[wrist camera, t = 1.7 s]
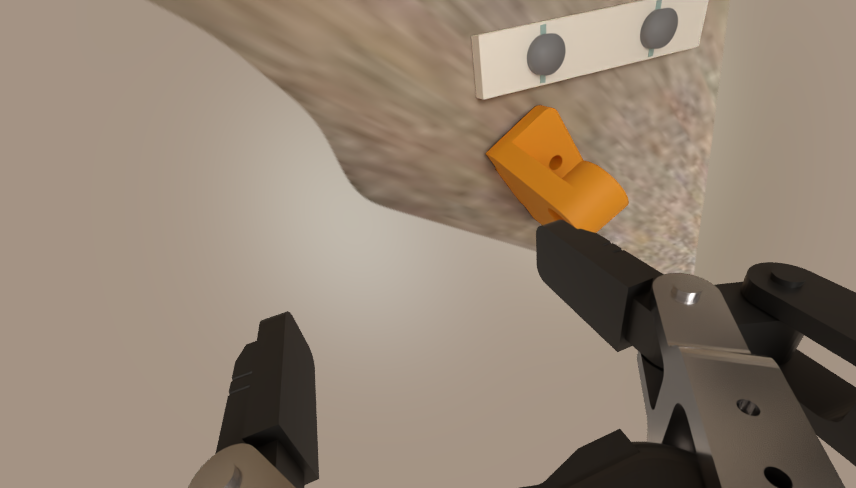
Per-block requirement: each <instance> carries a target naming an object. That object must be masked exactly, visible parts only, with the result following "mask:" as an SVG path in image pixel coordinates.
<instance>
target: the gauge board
mask: <svg viewBox="0 0 856 488" xmlns="http://www.w3.org/2000/svg"><path fill="white" fill-rule="evenodd" d="M708 1H709V0H640V1H635V2H630V3H626V4H621V5H616V6H611V7H607V8H602V9H597V10H592V11H588V12H583V13H578V14H573V15H569V16H564V17H559V18H554V19H550V20H545V21H540V22H535V23H530V24H526V25H521V26H516V27H511V28H507V29H502V30H497V31H492V32H488V33H483V34H478V35H473V36H471V41H472V52H473V64H474V75H475V87H476V98H479V99H483V100H484V99H488V98H492V97H496V96H500V95H504V94H508V93H513V92H517V91H521V90H525V89H529V88H533V87H537V86H541V85H545V84H549V83H553V82H557V81H561V80H565V79H569V78H573V77H577V76H581V75H586V74H590V73H594V72H598V71H602V70H606V69H610V68H614V67H618V66H622V65H626V64H630V63H634V62H638V61H642V60H646V59H650V58H655V57H659V56H663V55H667V54H671V53H675V52H679V51H683V50H687V49H691V48H695V47H699V42H700V38H701V33H702V28H703V24H704V19H705V15H706V10H707V6H708Z"/></svg>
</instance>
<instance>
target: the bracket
mask: <svg viewBox="0 0 856 488" xmlns="http://www.w3.org/2000/svg"><path fill="white" fill-rule="evenodd" d="M486 155H487V156H488V157H489V159H490V160H491V161H492V163H493V164H494V165H495V167H496V171H497V172H498V173H499V175H500V176H501V177H502V179H503V180H504V181H505V183H506V184H507V185H508V187H509V188H510V189H511V191H512V192H513V193H514V195H515V196H516V197H517V199H518V200H519V201H520V203H522V204H523V205H524V206H525V207H526V208H527V210H528V211H529V212H530V214H531V215H532V217H533V218H534V219H535V220H536V221H538V222H539V223H541V224H542V225H545V224H548V223H551V222H554V221H557V220H560V219H562V220H564V221H566V222H567V223H569V224H571V225H572V226H574V227H575V228H577V229H584V230H587V231H590V232H594V233H596V232H598V231H599V230H600V229H601V228H602V227H603V226H604V225H606V224H607V223H608V222H609V221H610V220H611V219H612V218H614V217H615V216H616V215H617V214H618V213H619V212H621V211H622V210H623V209H624V208H625V207H626V206H627V205H628V203H629V201H628V197H627V195H626V193H625V191H624V190H623V188H622V187H621V186H620V185H619V183H618V182H617V181H616V180H615V179H614V178H613V177H612V176H611V175H610V174H608V173H607V172H606V171H605V170H603V169H602V168H600V167H599V166H597V165H595V164H593V163H591V162H588V161H583V159H582V157H581V155H580V153H579V151H578V149H577V147H576V146H575V144H574V142H573V140H572V138H571V136H570V134H569V132H568V131H567V129H566V127H565V125H564V123H563V121H562V119H561V117H560V116H559V114H558V112H557V110H556V109H554V108H550V107H546V106H542V105H538V106H535V107H534V108H533V109H532V110H531V111H530V112H529V113H528V114H527V115H525V116H524V117H523V118H522V119H521V120H520V121H519V122H518V123H517V124H516V125H515V126H514V127H513V128H512V129H511V130H510V131H509V132H508V133H507V134H506V135H504V136H503V137H502V138H501V139H500V140H499V141H498V142H497V143H496V144H495V145H494V146H493V147H492V148H491V149H490V150H489V151H488V152H487V153H486Z"/></svg>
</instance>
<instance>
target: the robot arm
mask: <svg viewBox="0 0 856 488" xmlns="http://www.w3.org/2000/svg"><path fill="white" fill-rule="evenodd" d="M536 248H537V269H538V272H539V275H540V277H541V278H542V280H543V281H544V282H545V283H546V284H547V285H548V286H549V287H550V288H551V289H552V290H553V291H554V292H555V293H556V294H557V295H558V296H559V297H560V298H561V299H562V300H564V302H565V303H567V304H568V305H569V306H570V307H571V308H572V309H573V310H574V311H575V312H576V313H577V314H578V315H579V316H580V317H581V318H582V319H583V320H584V321H586V323H588V324H589V325H590V326H591V327H592V328H593V329H594V330H595V331H596V332H597V333H598V334H599V335H600V336H601V337H602V338H603V339H604V340H605V341H606V342H607V343H609V344H610V345H611V346H612V347H613V348H614V349H615V350H616V351H617V352H619V351H621V350H624V349H626V348H628V347H630V346H634V347H635V348H636V349H637V350H638V354H637V362H638V368H639V373H640V379H641V385H642V391H643V397H644V402H645V409H646V414H647V427H648V428H647V442H631V441H630V440H629V439H628V438H627V437H626V435H625V434H624V433H623V432H622V431H621V429H618V430H616V431H614V432H612V433H610V434H608V435H606V436H604V437H602V438H600V439H597V440H595V441H593V442H591V443H589V444H587V445H585V446H583V447H581V448H578V449H577V450H576V451H575V452H574V453H573V454H572V455H571V456H570V457H569V458H568V459H567V460H566V461H565V462H564V463H563V464H562V465H561V466H560V467H559V468H558V469H557V470H556V471H555V472H554V473H553V474H552V475H551V476H550V477H549V478H548V479H547V480H546V481H544V482H543V483H541V484H539V485H535V486H528V487H521V488H845V486H844V485H843V483H842V481H841V479H840V478H839V476H838V474H837V472H836V470H835V468H834V466H833V464H832V463H831V461H830V459H829V457H828V455H827V453H826V452H825V450H824V448H823V446H822V445H821V443H820V441H819V439H818V437H817V436H819V437H820V438H821V439H822V440H823V441H825V442H826V443H827V444H828V445H830V446H831V447H832V448H834V449H835V450H836V451H837V452H838V453H840V454H841V455H842V456H844V457H845V458H846V459H847V460H849V461H850V462H851V463H852V464H854V465H855V466H856V387H854V386H853V385H851V384H850V383H848V382H846V381H845V380H843V379H842V378H840V377H839V376H837V375H836V374H834V373H833V372H831V371H829V370H828V369H826V368H825V367H823V366H822V365H820V364H819V363H817V362H816V361H814V360H812V359H811V358H809V357H808V356H806V355H804V354H803V353H802V352H800V351H799V350H797V349H796V348H797V347H798V345H799V343H800V341H801V340H802V338H803V336H804V335H805V336H807V337H808V338H810V339H812V340H813V341H815V342H816V343H818V344H820V345H821V346H823V347H825V348H827V349H828V350H830V351H831V352H833V353H835V354H837V355H838V356H840V357H841V358H843V359H845V360H846V361H848V362H850V363H851V364H853V365H854V366H856V293H855V292H853V291H851V290H849V289H847V288H844V287H842V286H840V285H838V284H836V283H834V282H832V281H830V280H827V279H825V278H823V277H821V276H819V275H817V274H815V273H812V272H810V271H808V270H805V269H803V268H800V267H797V266H793V265H789V264H783V263H772V262H768V263H759V264H755V265H753V266H752V267H750V268H749V270H748V271H747V274H746V276H745V279H744V281H743V282H736V283H727V284H718V285H713V284H712V283H710V282H708V281H707V280H704V279H702V278H700V277H697V276H694V275H690V274H684V273H669V274H662V273H660V272H659V271H657V270H655V269H654V268H652V267H651V266H649V265H647V264H646V263H644V262H643V261H641V260H639V259H638V258H636V257H634V256H633V255H631V254H630V253H628V252H626V251H625V250H623V251H622V250H621V248H620V247H618V246H617V245H615V244H613V243H612V244H611V243H610V241H608V240H607V239H605V238H604V237H602V236H600V235H599V234H597V233H594V232H590V231H587V230H584V229H577V228H575V227H574V226H572V225H571V224H569V223H567V222H566V221H564V220H562V219H560V220H557V221H554V222H551V223H548V224H545V225H542V226H539V227H538V228H537V231H536ZM232 380H233V381H232V382H231V385H230V389H229V394H230V395H229V396H228V399H227V403H226V408H225V413H224V417H223V422H222V427H221V431H220V436H219V441H218V445H217V450H216V453H215V455H214V456H212V457H211V458H210V459H209V460H208V461H207V462H206V463H205V464H204V465H203V466H202V467H201V468H200V470H199V471H198V472H197V473H196V474H195V476H194V478H193V479H192V481H191V483H190V485H189V486H188V488H304V485H306V484H308V483H310V482H313V481H315V480H317V479H319V467H318V441H317V417H316V393H315V391H316V390H315V367H314V361H313V356H312V353H311V350H310V348H309V346H308V344H307V342H306V340H305V338H304V337H303V335H302V333H301V331H300V329H299V327H298V325H297V324H296V322H295V320H294V318H293V316H292V315H291V314H290V312H288V311H287V312H285V313H282V314H279V315H276V316H273V317H270V318H267V319H264V320H262V321H261V322H260V324H259V331H258V338H257V341H255V342H252V343H250V344H247V345H246V346H245V347H244V349H243V351H242V352H241V354H240V355H239V357H238V358H237V360H236V362H235V366H234V371H233V375H232Z"/></svg>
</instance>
